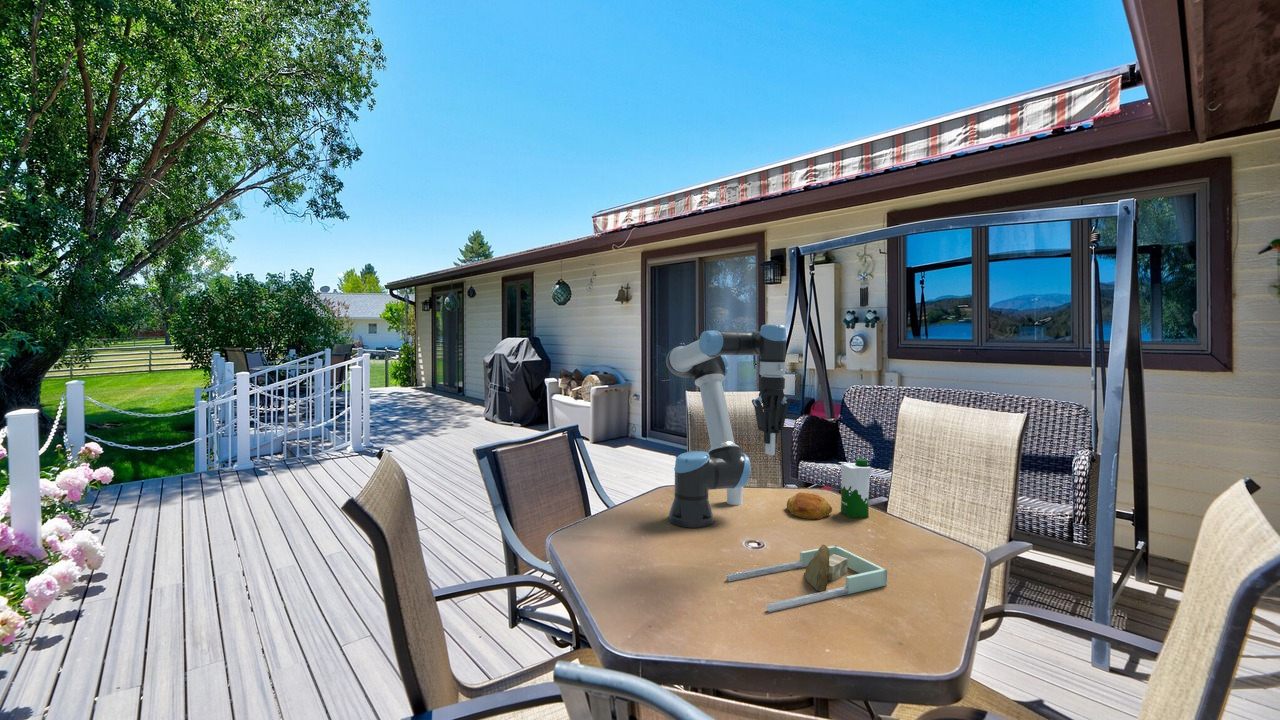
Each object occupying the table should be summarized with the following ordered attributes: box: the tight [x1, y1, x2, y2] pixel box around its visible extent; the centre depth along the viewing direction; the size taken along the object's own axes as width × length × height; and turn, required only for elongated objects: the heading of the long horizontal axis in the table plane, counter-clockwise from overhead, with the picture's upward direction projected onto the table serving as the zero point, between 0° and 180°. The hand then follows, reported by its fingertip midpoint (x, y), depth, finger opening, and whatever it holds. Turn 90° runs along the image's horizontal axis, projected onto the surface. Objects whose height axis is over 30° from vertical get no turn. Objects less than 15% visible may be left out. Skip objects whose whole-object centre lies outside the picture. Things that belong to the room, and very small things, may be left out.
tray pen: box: [799, 545, 888, 595], centre depth 146 cm, size 13×18×4 cm
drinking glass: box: [726, 486, 744, 506], centre depth 209 cm, size 7×7×10 cm
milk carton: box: [840, 458, 872, 519], centre depth 197 cm, size 9×9×20 cm
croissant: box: [786, 492, 833, 520], centre depth 198 cm, size 15×16×8 cm
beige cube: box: [829, 554, 848, 578], centre depth 148 cm, size 4×4×4 cm
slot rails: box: [726, 560, 849, 613], centre depth 138 cm, size 24×18×2 cm
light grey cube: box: [828, 559, 841, 582], centre depth 145 cm, size 4×4×4 cm
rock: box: [803, 544, 830, 592], centre depth 141 cm, size 10×8×10 cm
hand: (770, 454), depth 164 cm, fingers closed
